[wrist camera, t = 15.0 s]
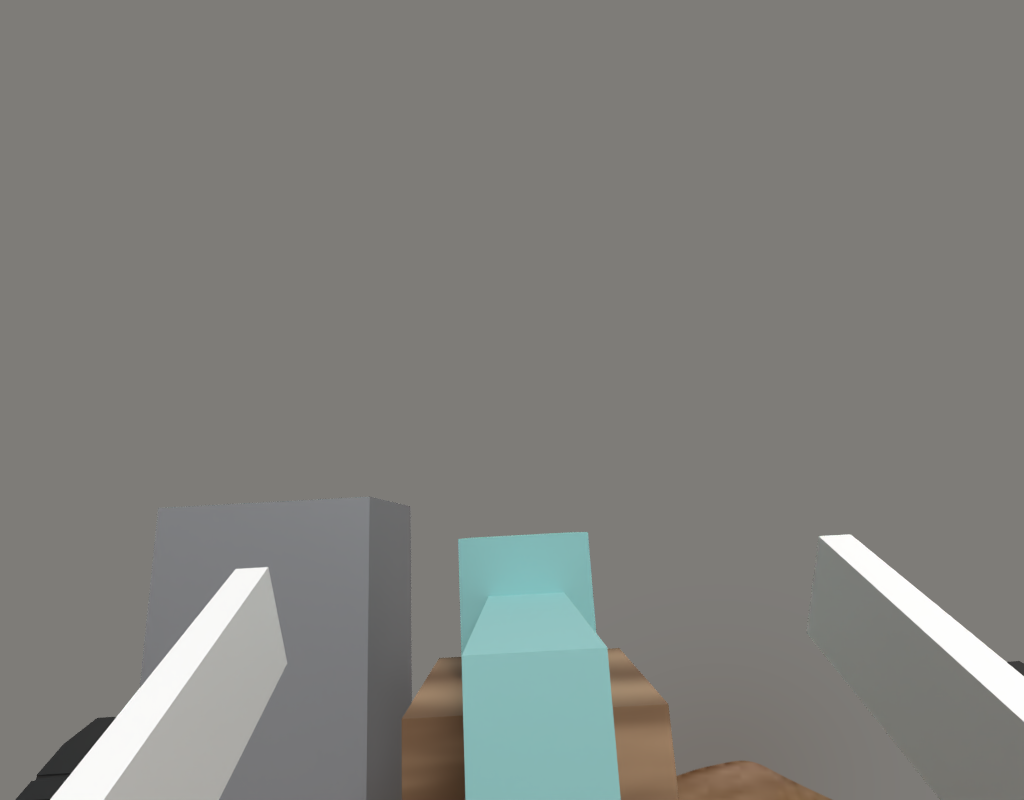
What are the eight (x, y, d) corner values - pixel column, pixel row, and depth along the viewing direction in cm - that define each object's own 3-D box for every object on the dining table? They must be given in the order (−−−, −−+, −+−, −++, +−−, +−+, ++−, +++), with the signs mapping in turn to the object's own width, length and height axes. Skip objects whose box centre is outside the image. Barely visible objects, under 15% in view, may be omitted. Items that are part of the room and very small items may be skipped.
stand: (363, 1070, 28) (369, 496, 36) (98, 1085, 28) (158, 508, 36) (413, 896, 42) (410, 506, 49) (234, 906, 42) (257, 514, 49)
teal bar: (680, 813, 14) (649, 532, 15) (407, 828, 14) (406, 545, 15) (583, 645, 34) (574, 532, 36) (473, 651, 34) (469, 537, 36)
